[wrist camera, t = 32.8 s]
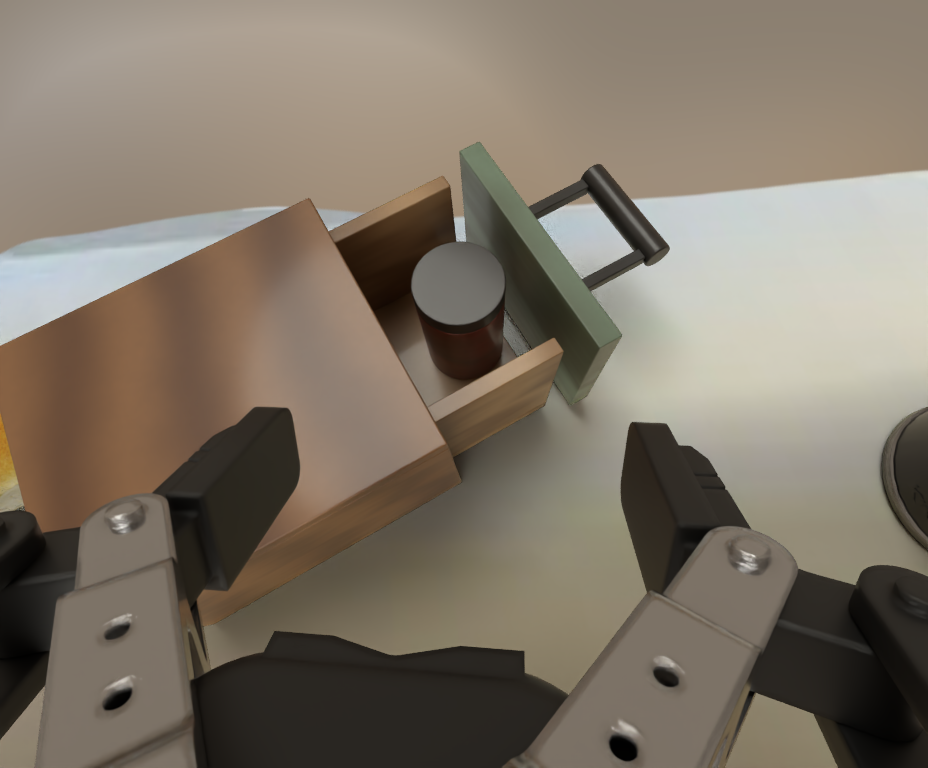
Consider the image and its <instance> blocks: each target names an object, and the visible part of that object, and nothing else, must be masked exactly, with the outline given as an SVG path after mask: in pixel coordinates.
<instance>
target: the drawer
mask: <svg viewBox="0 0 928 768" xmlns="http://www.w3.org/2000/svg"><path fill="white" fill-rule="evenodd" d="M460 166H461V179H462V191H463V203H464V217H465V230H466V242H469V243H474V244H477V245H479V246H482V247H484V248H485V249H487V250H489V251H490V252H491V253H492V254H493V255H494V256H495V257H496V258H497V259H498V260H499V262H500V263H501V265H502V267H503V269H504V273H505V277H506V290H505V309H506V310H507V312H508V313H509V315H510V316H511V318H512V319H513V321H514V322H515V324H516V325H517V327H518V328H519V330H520V331H521V333H522V334H523V336H524V337H525V339H526V340H527V342H528V343H529V345H530V346H531V348H532V350H530V351H528V352H526V353H524V354H523V355H521V356H519V357H517V356H516V354H515V353H514V351H513V350H512V348H511V346H510V345H509V343H508V342H507V340H506V339H505V337H504V336H503V346H502V353H501V356H500V358H499V360H498V362H497V364H496V365H495V366H494V367H493V368H492V369H491V370H490V371H489V372H488V373H486V374H484V375H482V376H480V377H478V378H474V379H467V380H463V379H455V378H452V377H450V376H447V375H446V374H444V373H442V372H441V371H440V370H439V369H438V368H437V367H436V366H435V364H434V363H433V361H432V359H431V356H430V353H429V350H428V347H427V343H426V340H425V337H424V333H423V330H422V327H421V323H420V320H419V317H418V313H417V310H416V307H415V303H414V300H413V296H412V292H411V278H412V274H413V271H414V269H415V267H416V265H417V264H418V262H419V261H420V259H421V258H422V257H423V256H424V255H425V254H426V253H428V252H429V251H430V250H432V249H434V248H435V247H438V246H440V245H443V244H446V243H450V242H456V235H455V226H454V217H453V208H452V199H451V189H450V185H449V184H448V182H447V181H446V179H445V178H444V177H443V176H441V177H439V178H437V179H435V180H433V181H431V182H429V183H427V184H425V185H422V186H420V187H418V188H416V189H414V190H413V191H410V192H408V193H406V194H404V195H402V196H400V197H398V198H396V199H394V200H392V201H390V202H388V203H386V204H384V205H382V206H380V207H378V208H376V209H374V210H372V211H369V212H367V213H365V214H363V215H361V216H359V217H357V218H355V219H353V220H351V221H349V222H347V223H345V224H343V225H341V226H339V227H337V228H335V229H333V230H331V231H329V233H330V235H331V237H332V239H333V240H334V242H335V244H336V246H337V247H338V249H339V251H340V253H341V255H342V256H343V258H344V260H345V262H346V264H347V265H348V267H349V269H350V271H351V272H352V274H353V276H354V278H355V280H356V281H357V283H358V285H359V287H360V288H361V290H362V292H363V294H364V296H365V297H366V299H367V301H368V303H369V304H370V306H371V308H372V310H373V312H374V313H375V315H376V317H377V319H378V321H379V322H380V324H381V326H382V328H383V329H384V331H385V333H386V335H387V337H388V338H389V340H390V342H391V344H392V345H393V347H394V349H395V351H396V353H397V354H398V356H399V358H400V360H401V362H402V363H403V365H404V367H405V369H406V370H407V372H408V374H409V376H410V378H411V379H412V381H413V383H414V385H415V386H416V388H417V390H418V392H419V394H420V395H421V397H422V399H423V401H424V403H425V404H426V406H427V408H428V410H429V411H430V413H431V415H432V417H433V419H434V420H435V422H436V424H437V426H438V427H439V429H440V431H441V433H442V435H443V436H444V438H445V440H446V442H447V444H448V447H449V449H450V452H451V454H452V457H455V456H456V455H458V454H460V453H462V452H463V451H465V450H467V449H469V448H470V447H472V446H474V445H476V444H478V443H479V442H481V441H483V440H485V439H486V438H488V437H490V436H492V435H493V434H495V433H497V432H499V431H501V430H502V429H504V428H506V427H508V426H509V425H511V424H513V423H515V422H517V421H518V420H520V419H522V418H524V417H525V416H527V415H529V414H531V413H532V412H534V411H536V410H538V409H540V408H541V407H543V406H545V403H546V401H547V398H548V395H549V392H550V389H551V386H552V383H553V381H554V382H555V384H556V385H557V387H558V388H559V390H560V392H561V393H562V395H563V396H564V398H565V399H566V401H567V402H568V404H569V405H573V404H574V403H576V402H578V401H580V400H581V399H583V398H585V397H586V396H587V395H588V393H589V391H590V390H591V388H592V386H593V385H594V383H595V381H596V380H597V378H598V376H599V374H600V373H601V371H602V369H603V368H604V366H605V364H606V363H607V361H608V359H609V357H610V356H611V354H612V352H613V351H614V349H615V347H616V346H617V344H618V342H619V340H620V339H621V337H622V334H621V333H620V331H619V330H618V328H617V327H616V326H615V324H614V323H613V322H612V320H611V319H610V318H609V316H608V315H607V314H606V312H605V311H604V309H603V308H602V307H601V305H600V304H599V303H598V301H597V300H596V299H595V297H594V296H593V295H592V293H591V292H590V291H592V290H594V289H596V288H598V287H600V286H601V285H603V284H605V283H607V282H609V281H611V280H613V279H614V278H616V277H618V276H620V275H622V274H624V273H625V272H627V271H629V270H631V269H633V268H635V267H637V266H638V265H640V264H642V263H644V264H645V265H646V266H651V265H653V264H655V263H657V262H658V261H660V260H661V259H662V258H663V257H664V256H665V255H666V254H667V253H668V251H669V250H670V247H669V245H668V244H667V243H666V242H665V241H664V239H663V238H662V237H661V236H660V234H659V233H658V232H657V231H656V230H655V228H654V227H653V226H652V225H651V224H650V222H649V221H648V220H647V219H646V218H645V216H644V215H643V214H642V213H641V212H640V210H639V209H638V208H637V207H636V205H635V204H634V203H633V202H632V201H631V199H630V198H629V197H628V196H627V195H626V194H625V192H624V191H623V190H622V189H621V187H620V186H619V185H618V184H617V183H616V181H615V180H614V179H613V178H612V177H611V175H610V174H609V173H608V172H607V171H606V169H605V168H604V167H603V166H602V165H601V164H597V165H594V166H592V167H590V168H589V169H588V170H587V171H586V172H585V173H584V174H583V176H582V178H581V180H580V181H578V182H576V183H574V184H572V185H571V186H568V187H567V188H564V189H563V190H561V191H559V192H557V193H555V194H553V195H551V196H549V197H547V198H545V199H543V200H541V201H539V202H537V203H535V204H533V205H531V206H529V207H528V206H527V205H526V204H525V202H524V201H523V200H522V198H521V197H520V196H519V194H518V193H517V192H516V190H515V189H514V188H513V186H512V185H511V183H510V182H509V181H508V179H507V178H506V177H505V175H504V174H503V173H502V171H501V170H500V169H499V167H498V166H497V165H496V163H495V162H494V160H493V159H492V158H491V156H490V155H489V154H488V152H487V151H486V150H485V148H484V147H483V145H482V144H481V143H480V142H477V143H476V144H473V145H471V146H469V147H467V148H465V149H463V150H461V151H460ZM587 193H588V194H589V195H590V196H591V198H592V199H593V200H594V201H595V203H596V204H597V205H598V206H599V208H600V209H601V210H602V211H603V213H604V214H605V215H606V216H607V218H608V219H609V220H610V222H611V223H612V224H613V225H614V227H615V228H616V229H617V230H618V232H619V233H620V234H621V235H622V237H623V238H624V239H625V240H626V242H627V243H628V244H629V245H630V247H631V248H632V249H633V250H634V252H632V253H630V254H628V255H626V256H625V257H623V258H621V259H619V260H617V261H615V262H613V263H612V264H610V265H608V266H606V267H604V268H602V269H600V270H599V271H597V272H595V273H593V274H591V275H589V276H587V277H585V278H584V279H582V280H581V278H580V277H579V276H578V274H577V273H576V272H575V270H574V269H573V267H572V266H571V265H570V263H569V262H568V261H567V259H566V258H565V257H564V255H563V254H562V253H561V251H560V250H559V248H558V247H557V246H556V244H555V243H554V242H553V240H552V239H551V238H550V236H549V235H548V234H547V232H546V231H545V230H544V228H543V227H542V225H541V224H540V223H539V221H538V220H537V219H539V218H541V217H543V216H545V215H547V214H549V213H551V212H552V211H554V210H556V209H558V208H560V207H562V206H564V205H566V204H568V203H570V202H572V201H574V200H576V199H578V198H580V197H582V196H584V195H586V194H587Z"/></svg>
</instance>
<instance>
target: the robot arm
mask: <svg viewBox="0 0 928 768" xmlns="http://www.w3.org/2000/svg"><path fill="white" fill-rule="evenodd" d="M882 473H883V481H884V485H885V489H886V492H887V495H888V498H889V500H890V502H891V505H892V507H893V509H894V510H895V512H896V514H897V516H898V517H899V519H900V520H901V522H902V523H903V524H904V526H905V527H906V528H907V530H908V531H909V532H910V533H911V534H912V535H913V536H914V537H915V538H916V539H917V540H918V541H919V542H920V543H921V544H922V545H923V546H924V547H926V548H927V549H928V407H926V408H923V409H921V410H918V411H916V412H914V413H912V414H910V415H909V416H907V417H906V418H904V419H903V420H902V421H901V422H900V423H899V424H898V425H897V426H896V427H895V428H894V430H893V431H892V433H891V434H890V436H889V438H888V440H887V442H886V445H885V448H884V453H883V460H882ZM717 475H718V474H717V473H716V471H715V469H714V468H713V466H712V464H711V463H710V461H709V459H707V458H706V457H705V456H703V455H702V454H701V453H699V452H698V451H697V450H695V449H694V448H693V447H691V446H679V445H678V443H677V442H676V440H675V438H674V436H673V434H672V432H671V431H670V429H669V427H668V425H667V424H665V423H643V422H632V423H631V424H630V426H629V430H628V436H627V443H626V450H625V457H624V464H623V470H622V477H621V503H622V508H623V511H624V515H625V518H626V522H627V525H628V529H629V532H630V535H631V539H632V542H633V546H634V549H635V553H636V556H637V560H638V563H639V567H640V570H641V573H642V577H643V580H644V584H645V587H646V591H647V594H646V595H645V596H644V598H643V599H642V600H641V602H640V603H639V604H638V605H637V607H636V608H635V609H634V611H633V612H632V613H631V615H630V616H629V617H628V619H627V620H626V621H625V622H624V624H623V625H622V626H621V628H620V629H619V630H618V632H617V633H616V634H615V636H614V637H613V638H612V640H611V641H610V642H609V643H608V645H607V646H606V647H605V649H604V650H603V651H602V653H601V654H600V655H599V657H598V658H597V659H596V660H595V662H594V663H593V664H592V666H591V667H590V668H589V670H588V671H587V672H586V674H585V675H584V676H583V678H582V679H581V680H580V681H579V683H578V684H577V685H576V687H575V688H574V689H573V691H572V692H571V693H570V695H568V694H566V693H565V692H563V691H562V690H560V689H558V688H557V687H555V686H554V685H552V684H550V683H548V682H546V681H544V680H542V679H540V678H538V677H535V676H532V675H529V674H526V673H525V667H524V651H516V650H503V649H491V648H479V647H466V646H458V647H451V648H445V649H438V650H432V651H425V652H418V653H412V654H405V655H397V656H394V655H388V654H385V653H382V652H379V651H376V650H373V649H370V648H367V647H365V646H362V645H359V644H356V643H353V642H350V641H347V640H344V639H342V638H339V637H336V636H330V635H317V634H305V633H293V632H280V631H274V633H273V635H272V637H271V639H270V641H269V643H268V645H267V647H266V649H265V651H264V652H263V653H257V654H253V655H249V656H245V657H242V658H239V659H236V660H233V661H230V662H228V663H225V664H223V665H221V666H219V667H217V668H214V669H212V670H211V665H210V660H209V654H208V649H207V643H206V638H205V633H204V627H203V622H202V616H201V611H200V607H199V604H198V601H197V598H198V597H199V595H200V594H201V593H202V591H203V590H216V591H228V590H229V589H230V587H231V586H232V584H233V583H234V581H235V580H236V578H237V577H238V575H239V574H240V572H241V571H242V569H243V568H244V566H245V565H246V563H247V562H248V560H249V558H250V557H251V555H252V554H253V552H254V551H255V549H256V548H257V546H258V545H259V543H260V542H261V540H262V539H263V537H264V536H265V534H266V533H267V531H268V530H269V528H270V527H271V525H272V524H273V522H274V521H275V519H276V517H277V516H278V514H279V513H280V511H281V510H282V508H283V507H284V505H285V504H286V502H287V501H288V499H289V498H290V496H291V495H292V493H293V492H294V490H295V488H296V487H297V484H298V481H299V476H300V459H299V453H298V447H297V441H296V435H295V429H294V423H293V417H292V414H291V411H290V410H289V409H288V408H284V407H259V406H257V407H254V408H253V409H252V410H251V411H250V412H248V413H247V414H246V415H245V416H244V417H243V418H242V419H241V420H240V421H239V422H238V423H237V424H236V425H232V426H230V427H229V428H227V429H225V430H223V431H221V432H219V433H217V434H215V435H213V436H212V437H211V438H210V439H209V440H208V441H207V442H206V443H205V444H203V445H202V446H201V447H200V448H199V451H196V452H195V453H194V454H193V455H192V456H191V457H190V458H188V462H184V463H183V464H182V465H181V466H180V467H179V468H178V469H177V470H176V471H175V472H174V473H172V474H171V475H170V476H169V477H168V478H167V479H166V480H165V481H164V482H163V483H162V484H161V485H160V486H159V487H157V488H156V489H155V490H154V491H153V492H152V493H141V494H134V495H129V496H125V497H122V498H119V499H116V500H114V501H111V502H109V503H107V504H105V505H103V506H101V507H100V508H98V509H97V510H95V511H94V512H92V513H91V514H90V515H89V516H88V517H87V518H86V519H85V520H84V522H83V523H82V525H81V527H76V528H69V529H62V530H56V531H49V532H43V533H42V531H41V528H40V526H39V524H38V522H37V519H36V517H35V516H34V514H32V513H30V512H27V511H21V510H15V511H5V512H0V739H1V738H2V737H3V736H4V735H5V733H6V732H7V731H8V730H9V728H10V727H11V726H12V725H13V724H14V722H15V721H16V720H17V719H18V717H19V716H20V715H21V714H22V713H23V711H24V710H25V709H26V708H27V707H28V705H29V704H30V703H31V702H32V700H33V699H34V698H35V697H36V696H37V694H38V693H39V692H40V691H41V689H42V688H43V687H44V686H45V692H44V700H43V707H42V715H41V722H40V730H39V737H38V745H37V752H36V760H35V768H725V766H726V763H727V761H728V759H729V756H730V754H731V752H732V749H733V747H734V745H735V742H736V740H737V737H738V735H739V733H740V730H741V728H742V726H743V723H744V721H745V719H746V716H747V714H748V711H749V709H750V707H751V704H752V702H753V700H754V697H755V695H756V693H758V694H761V695H764V696H766V697H769V698H772V699H775V700H777V701H780V702H783V703H786V704H788V705H791V706H794V707H797V708H799V709H802V710H805V711H808V712H810V713H813V714H814V716H815V718H816V720H817V723H818V725H819V727H820V729H821V731H822V733H823V736H824V738H825V740H826V742H827V744H828V746H829V749H830V751H831V753H832V755H833V757H834V759H835V762H836V764H837V766H838V768H928V577H927V576H925V575H923V574H920V573H918V572H915V571H912V570H908V569H905V568H901V567H896V566H889V565H877V566H871V567H868V568H866V569H864V570H863V571H862V572H861V574H860V576H859V579H858V581H857V583H856V585H852V584H849V583H845V582H841V581H838V580H834V579H830V578H827V577H823V576H819V575H816V574H812V573H809V572H806V571H803V570H801V569H798V566H797V563H796V561H795V559H794V557H793V556H792V555H791V553H790V552H789V551H788V550H787V549H786V548H785V547H784V546H782V545H781V544H780V543H778V542H777V541H776V540H774V539H772V538H770V537H769V536H766V535H764V534H762V533H760V532H757V531H754V530H751V528H750V526H749V525H748V523H747V522H746V520H745V518H744V517H743V515H742V513H741V512H740V510H739V508H738V507H737V505H736V504H735V502H734V500H733V499H732V497H731V495H730V494H729V492H728V491H727V490H725V486H724V484H723V482H722V481H721V479H720V477H718V476H717Z"/></svg>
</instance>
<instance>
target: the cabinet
mask: <svg viewBox="0 0 928 768" xmlns="http://www.w3.org/2000/svg"><path fill="white" fill-rule="evenodd" d="M257 406H259V407H284V408H288V409H289V410H290V411H291V414H292V417H293V423H294V429H295V435H296V441H297V447H298V453H299V459H300V476H299V481H298V484H297V487H296V488H295V490H294V492H293V493H292V495H291V496H290V498H289V499H288V501H287V502H286V504H285V505H284V507H283V508H282V510H281V511H280V513H279V514H278V516H277V517H276V519H275V521H274V522H273V524H272V525H271V527H270V528H269V530H268V531H267V533H266V534H265V536H264V537H263V539H262V540H261V542H260V543H259V545H258V546H257V548H256V549H255V551H254V552H253V554H252V555H251V557H250V558H249V560H248V562H247V563H246V565H245V566H244V568H243V569H242V571H241V572H240V574H239V575H238V577H237V578H236V580H235V581H234V583H233V584H232V586H231V587H230V589H229V590H228V591H216V590H203V591H202V593H201V594H200V595H199V597H198V598H197V601H198V604H199V607H200V611H201V616H202V622H203V626H207V625H212V624H215V623H217V622H219V621H221V620H222V619H224V618H226V617H228V616H229V615H231V614H233V613H235V612H236V611H238V610H240V609H242V608H243V607H245V606H247V605H249V604H250V603H252V602H254V601H256V600H257V599H259V598H261V597H263V596H264V595H266V594H268V593H269V592H271V591H273V590H275V589H276V588H278V587H280V586H282V585H283V584H285V583H287V582H289V581H290V580H292V579H294V578H296V577H297V576H299V575H301V574H303V573H304V572H306V571H308V570H310V569H311V568H313V567H315V566H317V565H318V564H320V563H322V562H324V561H325V560H327V559H329V558H331V557H332V556H334V555H336V554H338V553H339V552H341V551H343V550H345V549H346V548H348V547H350V546H352V545H353V544H355V543H357V542H359V541H360V540H362V539H364V538H366V537H367V536H369V535H371V534H372V533H374V532H376V531H378V530H379V529H381V528H383V527H385V526H386V525H388V524H390V523H392V522H393V521H395V520H397V519H399V518H400V517H402V516H404V515H406V514H407V513H409V512H411V511H413V510H414V509H416V508H418V507H420V506H421V505H423V504H425V503H427V502H428V501H430V500H432V499H434V498H435V497H437V496H439V495H441V494H442V493H444V492H446V491H448V490H449V489H451V488H453V487H455V486H456V485H458V484H460V483H461V482H462V481H461V478H460V476H459V473H458V470H457V468H456V465H455V462H454V460H453V457H452V454H451V452H450V449H449V447H448V444H447V442H446V440H445V438H444V436H443V435H442V433H441V431H440V429H439V427H438V426H437V424H436V422H435V420H434V419H433V417H432V415H431V413H430V411H429V410H428V408H427V406H426V404H425V403H424V401H423V399H422V397H421V395H420V394H419V392H418V390H417V388H416V386H415V385H414V383H413V381H412V379H411V378H410V376H409V374H408V372H407V370H406V369H405V367H404V365H403V363H402V362H401V360H400V358H399V356H398V354H397V353H396V351H395V349H394V347H393V345H392V344H391V342H390V340H389V338H388V337H387V335H386V333H385V331H384V329H383V328H382V326H381V324H380V322H379V321H378V319H377V317H376V315H375V313H374V312H373V310H372V308H371V306H370V304H369V303H368V301H367V299H366V297H365V296H364V294H363V292H362V290H361V288H360V287H359V285H358V283H357V281H356V280H355V278H354V276H353V274H352V272H351V271H350V269H349V267H348V265H347V264H346V262H345V260H344V258H343V256H342V255H341V253H340V251H339V249H338V247H337V246H336V244H335V242H334V240H333V239H332V237H331V235H330V233H329V231H328V230H327V228H326V226H325V224H324V223H323V221H322V219H321V217H320V215H319V214H318V212H317V210H316V208H315V207H314V205H313V203H312V201H311V200H310V199H309V198H308V199H306V200H304V201H302V202H299V203H297V204H295V205H293V206H291V207H289V208H287V209H285V210H283V211H281V212H279V213H276V214H274V215H272V216H270V217H268V218H266V219H264V220H262V221H260V222H258V223H256V224H254V225H251V226H249V227H247V228H245V229H243V230H241V231H239V232H237V233H235V234H233V235H231V236H229V237H226V238H224V239H222V240H220V241H218V242H216V243H214V244H212V245H210V246H208V247H206V248H204V249H201V250H199V251H197V252H195V253H193V254H191V255H189V256H187V257H185V258H183V259H181V260H179V261H176V262H174V263H172V264H170V265H168V266H166V267H164V268H162V269H160V270H158V271H156V272H153V273H151V274H149V275H147V276H145V277H143V278H141V279H139V280H137V281H135V282H133V283H131V284H128V285H126V286H124V287H122V288H120V289H118V290H116V291H114V292H112V293H110V294H108V295H106V296H103V297H101V298H99V299H97V300H95V301H93V302H91V303H89V304H87V305H85V306H83V307H81V308H78V309H76V310H74V311H72V312H70V313H68V314H66V315H64V316H62V317H60V318H58V319H55V320H53V321H51V322H49V323H47V324H45V325H43V326H41V327H39V328H37V329H35V330H33V331H30V332H28V333H26V334H24V335H22V336H20V337H18V338H16V339H14V340H12V341H10V342H8V343H5V344H3V345H1V346H0V414H1V418H2V422H3V426H4V430H5V433H6V437H7V441H8V445H9V449H10V453H11V457H12V461H13V465H14V469H15V472H16V476H17V480H18V484H19V488H20V492H21V496H22V500H23V504H24V507H25V511H27V512H30V513H32V514H34V516H35V517H36V519H37V522H38V524H39V526H40V528H41V531H42V533H43V532H49V531H56V530H62V529H69V528H76V527H81V525H82V523H83V522H84V520H85V519H86V518H87V517H88V516H89V515H90V514H91V513H92V512H94V511H95V510H97V509H98V508H100V507H101V506H103V505H105V504H107V503H109V502H111V501H114V500H116V499H119V498H122V497H125V496H129V495H134V494H141V493H152V492H153V491H154V490H155V489H156V488H157V487H159V486H160V485H161V484H162V483H163V482H164V481H165V480H166V479H167V478H168V477H169V476H170V475H171V474H172V473H174V472H175V471H176V470H177V469H178V468H179V467H180V466H181V465H182V464H183V463H184V462H188V458H190V457H191V456H192V455H193V454H194V453H195V452H196V451H199V448H200V447H201V446H202V445H203V444H205V443H206V442H207V441H208V440H209V439H210V438H211V437H212V436H213V435H215V434H217V433H219V432H221V431H223V430H225V429H227V428H229V427H230V426H232V425H236V424H237V423H238V422H239V421H240V420H241V419H242V418H243V417H244V416H245V415H246V414H247V413H248V412H250V411H251V410H252V409H253V408H254V407H257Z"/></svg>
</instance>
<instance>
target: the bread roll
mask: <svg viewBox="0 0 928 768" xmlns="http://www.w3.org/2000/svg"><path fill="white" fill-rule="evenodd" d="M22 506H24V504H23V500H22V496H21V492H20V488H19V484H18V480H17V476H16V472H15V469H14V465H13V461H12V457H11V453H10V449H9V445H8V441H7V437H6V433H5V430H4V426H3V422H2V418H1V414H0V512H5V511H14V510H16V509H18V508H20V507H22Z"/></svg>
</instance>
